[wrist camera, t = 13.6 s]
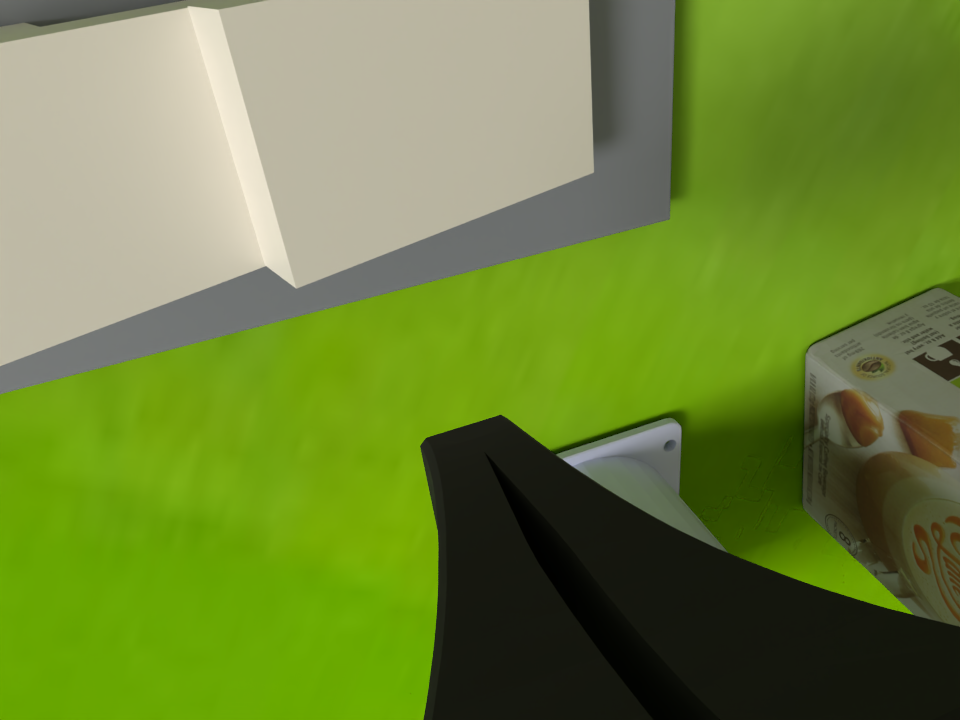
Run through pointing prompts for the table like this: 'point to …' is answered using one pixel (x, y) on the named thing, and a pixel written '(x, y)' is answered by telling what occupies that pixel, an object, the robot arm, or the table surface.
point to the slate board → (470, 246)
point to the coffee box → (891, 448)
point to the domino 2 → (393, 116)
